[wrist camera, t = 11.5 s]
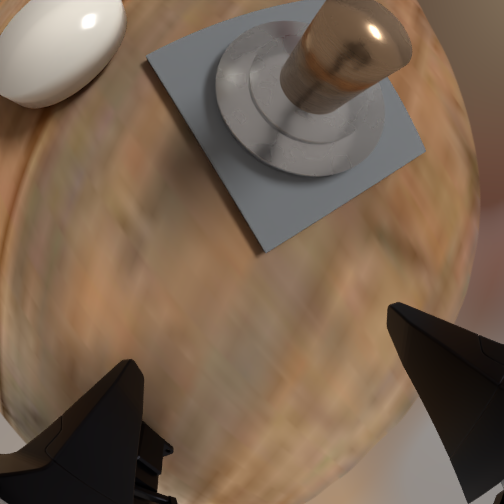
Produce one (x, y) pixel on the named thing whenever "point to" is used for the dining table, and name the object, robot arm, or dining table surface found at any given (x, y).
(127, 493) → the robot arm
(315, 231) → the dining table surface
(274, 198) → the mat
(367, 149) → the cylinder on round base
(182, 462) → the dining table surface
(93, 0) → the white rounded piece
